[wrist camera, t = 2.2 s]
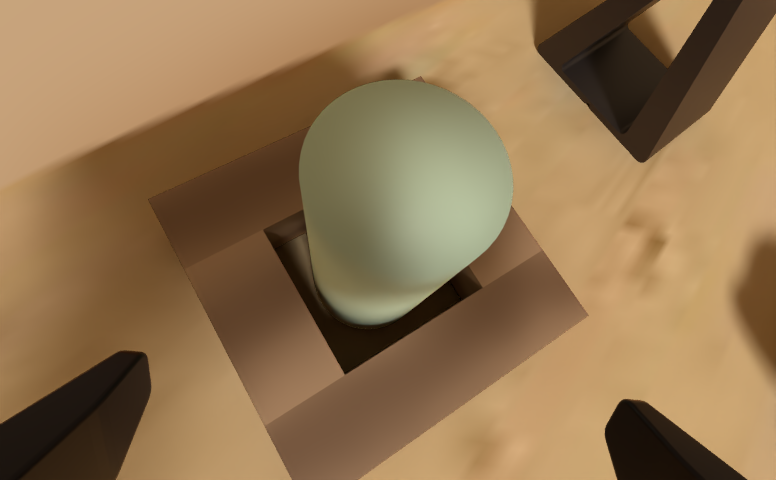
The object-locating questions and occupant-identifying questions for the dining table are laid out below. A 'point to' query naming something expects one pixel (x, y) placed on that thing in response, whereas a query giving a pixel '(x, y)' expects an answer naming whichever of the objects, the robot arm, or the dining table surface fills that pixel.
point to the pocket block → (305, 341)
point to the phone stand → (653, 68)
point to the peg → (398, 197)
